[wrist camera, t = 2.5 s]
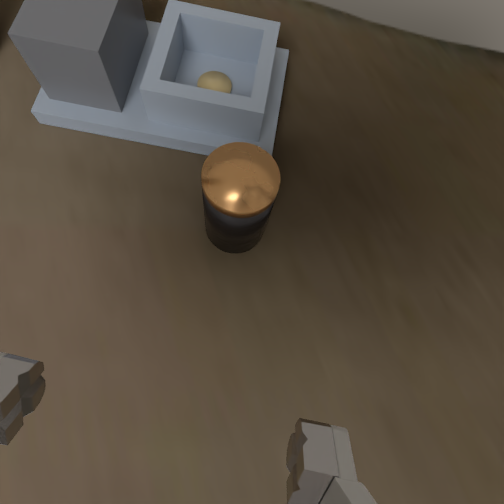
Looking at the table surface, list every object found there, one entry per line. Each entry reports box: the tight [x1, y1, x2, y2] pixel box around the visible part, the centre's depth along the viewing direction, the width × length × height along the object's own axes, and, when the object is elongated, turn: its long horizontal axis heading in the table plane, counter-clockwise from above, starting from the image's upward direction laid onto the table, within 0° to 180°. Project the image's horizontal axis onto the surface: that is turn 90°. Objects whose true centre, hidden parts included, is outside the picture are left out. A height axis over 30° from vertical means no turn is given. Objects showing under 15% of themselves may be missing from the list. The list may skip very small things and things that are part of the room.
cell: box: [201, 142, 281, 253], centre depth 25 cm, size 5×5×8 cm
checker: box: [7, 0, 289, 156], centre depth 28 cm, size 20×12×8 cm, turn 81°
